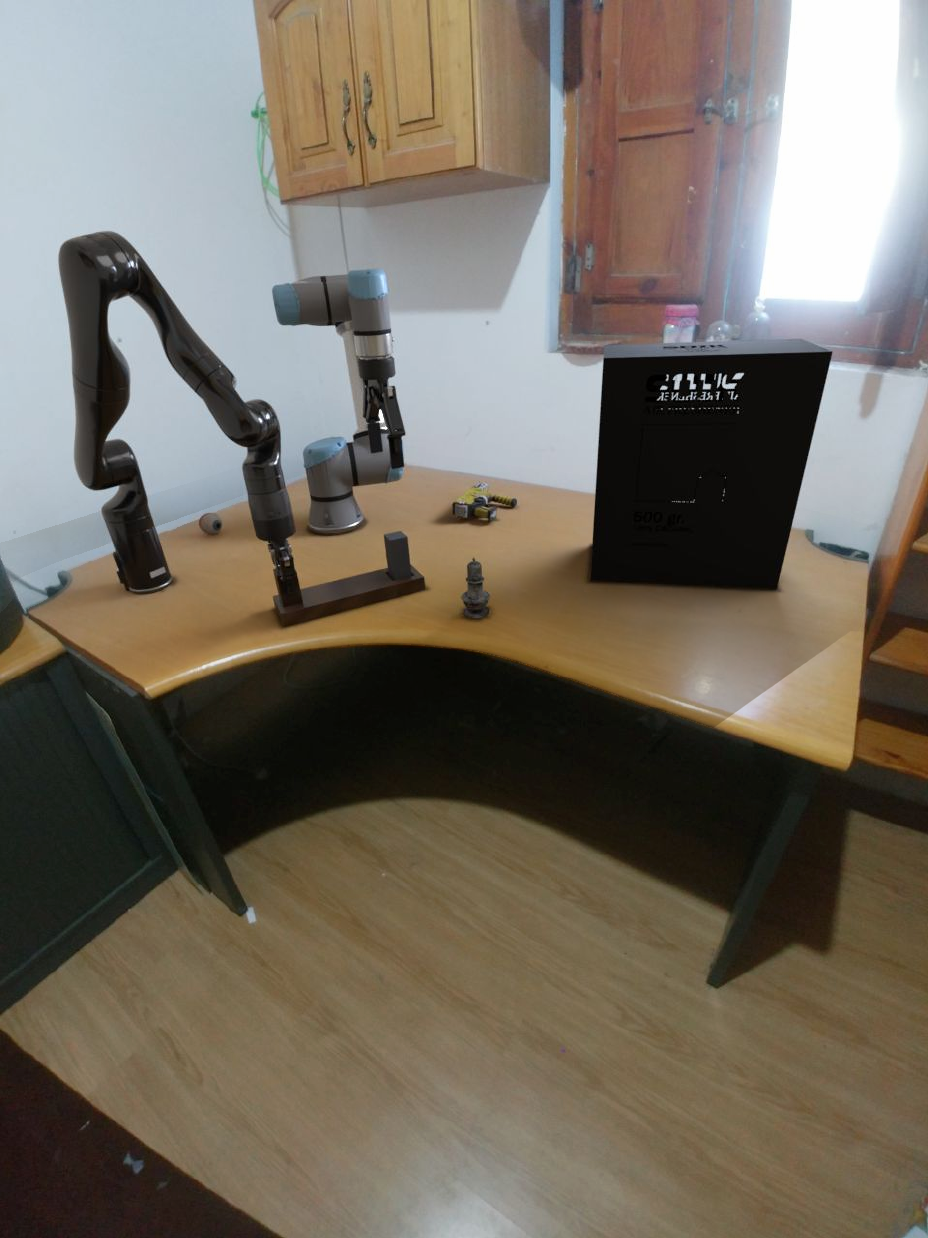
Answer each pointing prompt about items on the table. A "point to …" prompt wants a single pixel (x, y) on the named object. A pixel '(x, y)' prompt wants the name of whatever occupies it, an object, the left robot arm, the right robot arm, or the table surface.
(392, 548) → the grey peg
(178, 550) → the table surface
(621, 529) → the cardboard box
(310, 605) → the walnut plank
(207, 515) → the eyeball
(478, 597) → the grey chess piece
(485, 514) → the toy gun
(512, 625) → the table surface
